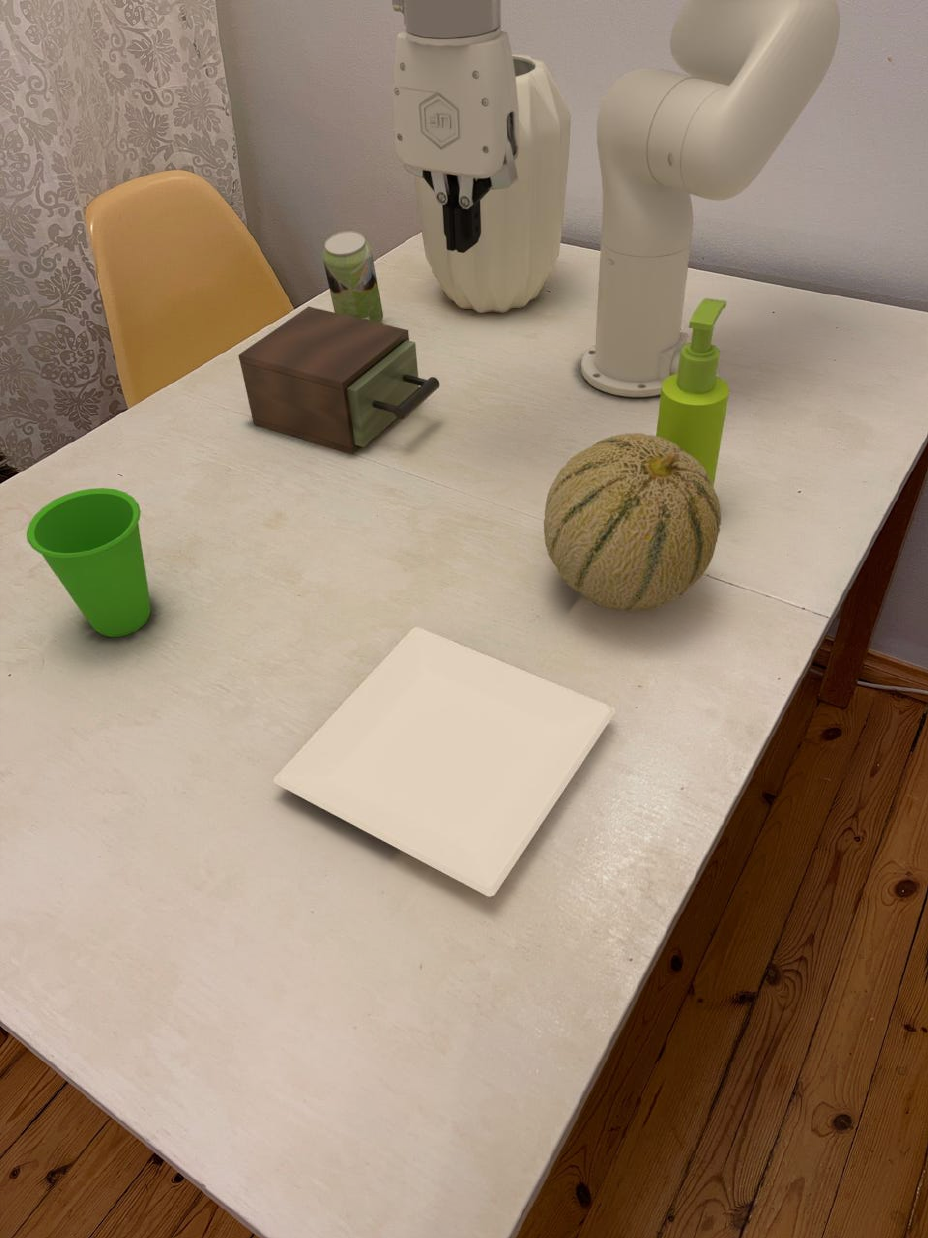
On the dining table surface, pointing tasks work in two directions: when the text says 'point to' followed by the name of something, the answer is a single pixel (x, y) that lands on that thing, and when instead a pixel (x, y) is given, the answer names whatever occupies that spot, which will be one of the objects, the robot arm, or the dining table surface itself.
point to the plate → (449, 756)
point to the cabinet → (313, 374)
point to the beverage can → (352, 276)
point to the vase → (510, 208)
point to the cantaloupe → (632, 522)
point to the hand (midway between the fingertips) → (463, 245)
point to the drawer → (387, 393)
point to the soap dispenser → (696, 393)
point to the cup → (96, 556)
